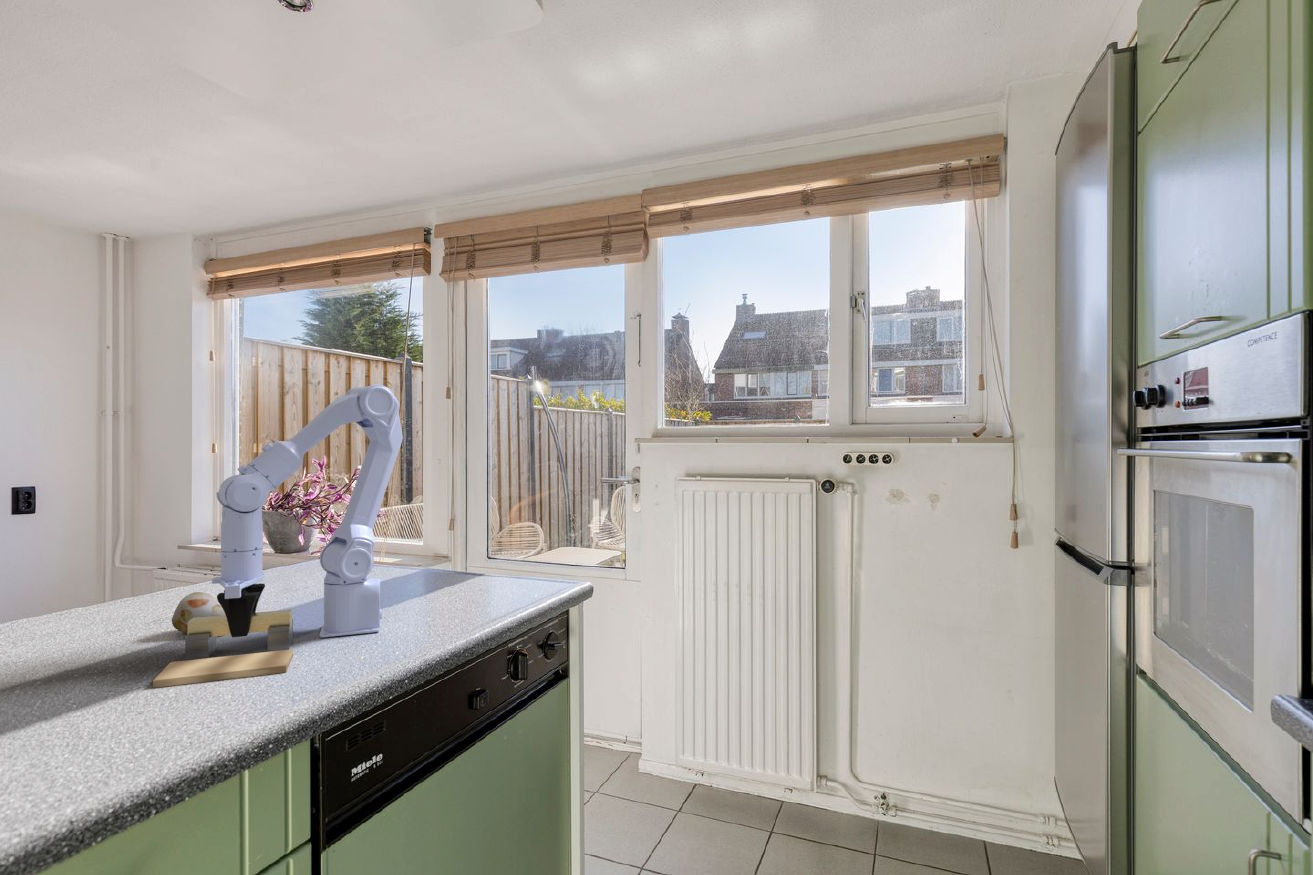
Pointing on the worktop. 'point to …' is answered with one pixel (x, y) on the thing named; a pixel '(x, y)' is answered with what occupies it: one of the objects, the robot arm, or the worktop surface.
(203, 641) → the post
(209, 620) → the rail
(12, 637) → the worktop surface
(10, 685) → the worktop surface
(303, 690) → the worktop surface
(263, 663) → the board
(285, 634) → the post
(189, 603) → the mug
